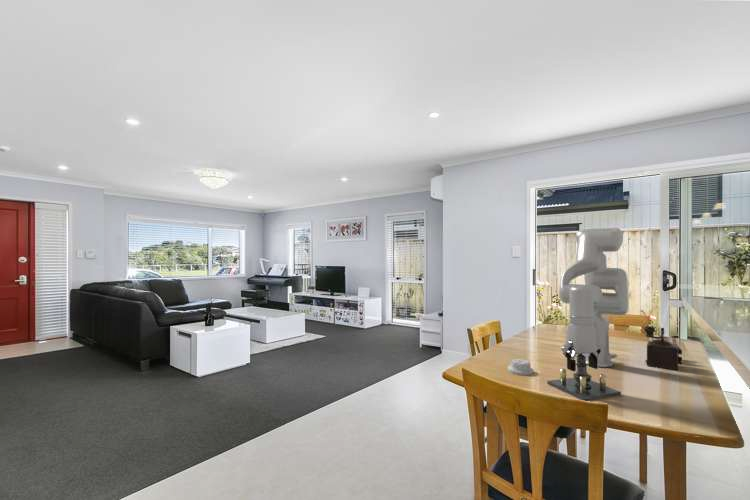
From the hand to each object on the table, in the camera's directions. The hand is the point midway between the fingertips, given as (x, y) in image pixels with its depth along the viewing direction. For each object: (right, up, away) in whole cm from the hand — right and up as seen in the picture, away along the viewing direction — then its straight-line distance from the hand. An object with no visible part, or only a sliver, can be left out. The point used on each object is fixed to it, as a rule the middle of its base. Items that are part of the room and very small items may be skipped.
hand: (582, 368), depth 126 cm
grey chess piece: (0, -6, 0) cm, 6 cm away
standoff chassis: (0, -7, 0) cm, 7 cm away
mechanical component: (-14, -8, +20) cm, 26 cm away
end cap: (+61, -8, +35) cm, 71 cm away
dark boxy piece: (+49, -8, +25) cm, 56 cm away
